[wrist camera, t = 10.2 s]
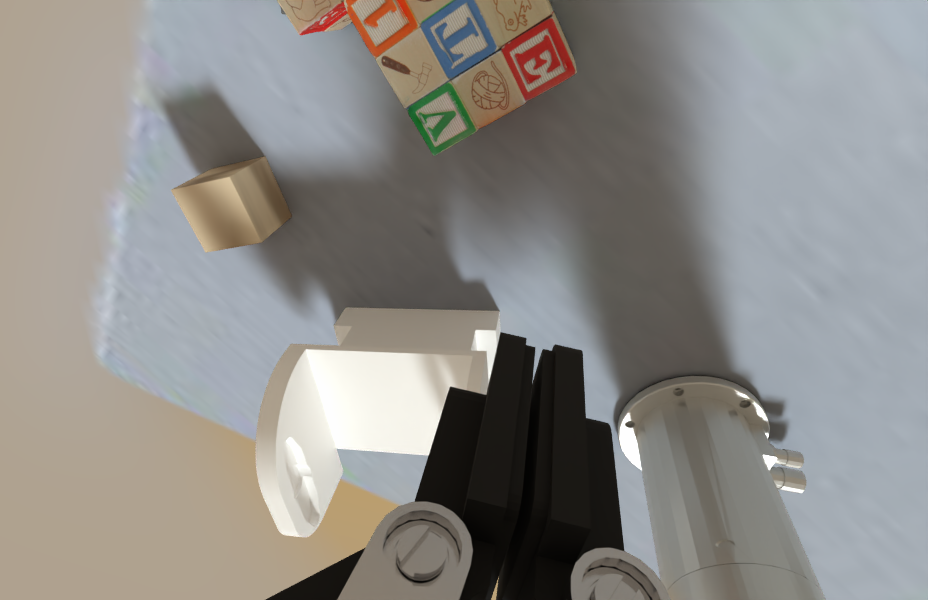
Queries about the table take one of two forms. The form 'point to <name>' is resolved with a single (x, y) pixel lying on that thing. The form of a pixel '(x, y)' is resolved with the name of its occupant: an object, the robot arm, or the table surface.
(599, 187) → the table surface
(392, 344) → the white plastic bracket
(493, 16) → the stack of blocks
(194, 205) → the beech block
